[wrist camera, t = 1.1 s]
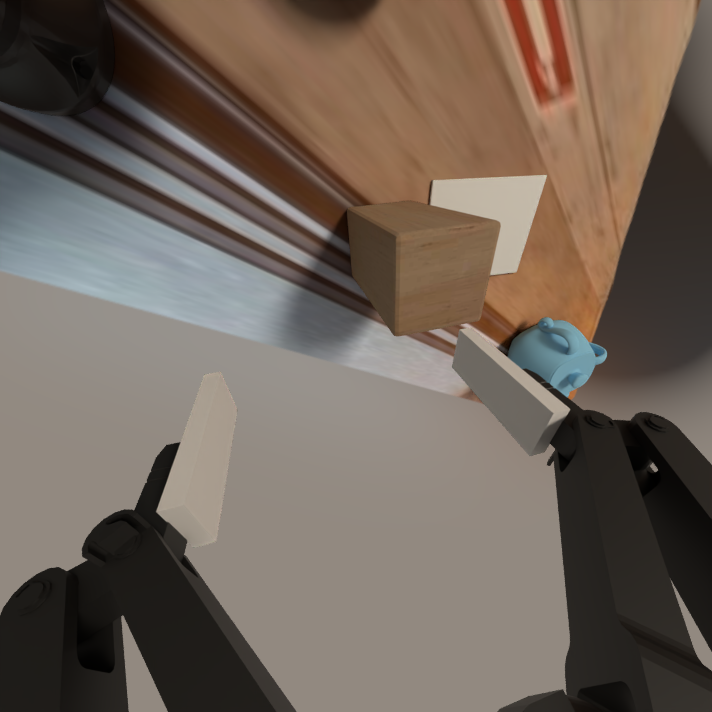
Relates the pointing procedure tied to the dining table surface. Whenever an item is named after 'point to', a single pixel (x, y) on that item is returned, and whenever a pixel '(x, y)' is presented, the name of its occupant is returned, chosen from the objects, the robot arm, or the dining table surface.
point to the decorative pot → (556, 354)
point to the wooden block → (421, 263)
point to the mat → (495, 209)
